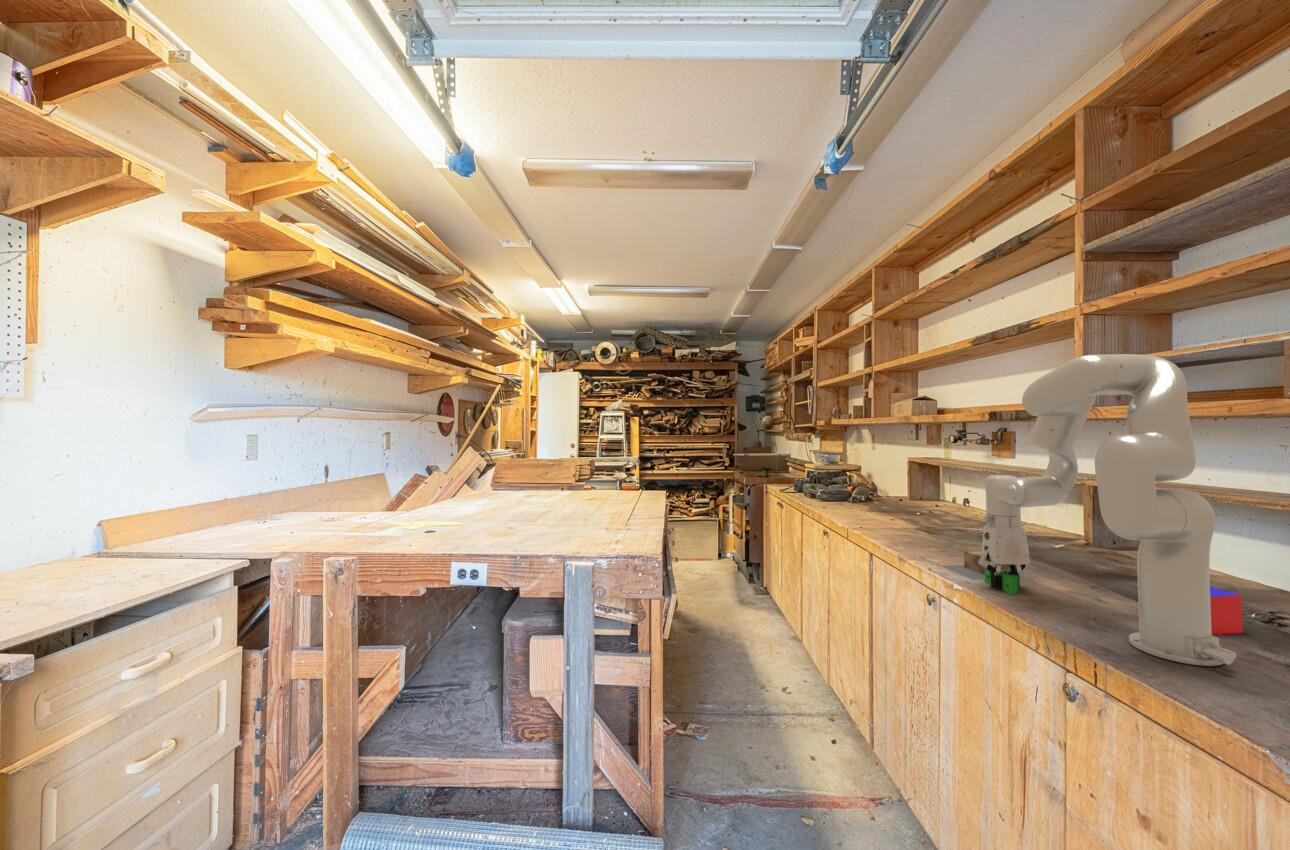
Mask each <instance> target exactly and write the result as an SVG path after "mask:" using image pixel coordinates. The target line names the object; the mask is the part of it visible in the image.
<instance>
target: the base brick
mask: <svg viewBox="0 0 1290 850" xmlns="http://www.w3.org/2000/svg"><path fill="white" fill-rule="evenodd" d="M963 555H964V556H963V557H964V558H963V562H964V564H963V565H964V567H966V568H969V569H971V570H974V571H976V572H979V573H981V574H984V575H985V567H983V566H982V565H980V564H979V563H978V561H979V559H980V558H981V556H982V549H978V550H977V549H976V550H963ZM987 563H988V564H989V561H987ZM1014 566H1015V565H1014ZM994 568H995V565H994ZM1001 570H1006V571H1007V574H1008V572H1010V569H1009V565H1001Z"/></svg>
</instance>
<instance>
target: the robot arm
mask: <svg viewBox="0 0 1290 850" xmlns="http://www.w3.org/2000/svg"><path fill="white" fill-rule="evenodd" d="M1114 395H1129V396H1132V398H1131V400H1130V402H1129V404H1128V406H1127V409H1126V411H1127V412H1126V421H1127V426H1128V433H1124V434H1118V435H1114V436H1112V437H1109V438H1107V439H1106V440H1105V441H1103V442H1102V443H1101V444H1100V445H1099V447H1098V448H1097V450H1096V454H1095V457H1094V473H1095V480H1096V488H1097V496H1098V503H1099V504H1098V505H1099V510H1100V514H1101V518H1102V519H1103V523H1105V525H1106V527H1107V528H1108V529H1109V530H1110V531H1111V532H1112V533H1113V534H1115V536H1118V537H1120V538H1122V539H1125V540H1129V541H1130V540H1131V541H1140V543H1139V546H1138V551H1137V557H1136V558H1137V559H1136V560H1137V562H1136V563H1137V595H1138V597H1137V598H1138V599H1137V600H1138V622H1139V623H1138V624H1139V625H1138V627H1139V629H1138V630H1139V632H1138V631H1137V632H1132V633H1130V634H1128V642H1129V643H1130V645H1131V646H1133V647H1134V648H1136V649H1138V650H1139V651H1142V652H1144V653H1146V654H1149V655H1151V656H1154V657H1157V658H1161V659H1165V660H1168V661H1173V662H1177V663H1180V664H1186V665H1193V666H1203V667H1216V666H1217V667H1218V666H1221V665H1224V664H1225V665H1230V666H1231V665H1232V664H1233V663H1234V661H1235V659H1236V658H1237V653H1236V652H1235V651H1233V650H1230V649H1227V648H1224V647H1221V646H1220V637H1217V636H1215V635H1212V634H1211V605H1210V587H1211V582H1210V581H1211V580H1210V576H1211V575H1210V574H1211V573H1210V572H1211V571H1210V555H1211V553H1210V552H1211V547H1212V539H1213V535H1214V532H1215V528H1216V515H1215V510H1214V509H1213V507H1212V505H1211V504H1210V502H1209V501H1207V499H1206V498H1204V497H1203V496H1202V495H1200V494H1198V493H1196V492H1194V491H1191V490H1188V489H1183V488H1176V487H1175V488H1173V487H1166V488H1165V487H1163V488H1157V487H1156V482H1157V483H1158V482H1160V483H1161V482H1172V481H1178V480H1182V479H1185V478H1187V477H1189V476H1190V475H1192V474H1193V472H1194V471H1195V469H1196V463H1197V462H1196V461H1197V460H1196V451H1195V445H1194V439H1193V438H1194V437H1193V433H1192V432H1193V431H1192V425H1191V419H1190V415H1189V414H1190V413H1189V407H1188V387H1187V380H1186V378H1185V375H1184V373H1183V371H1182V370H1181V368H1179V366H1177V365H1176V363H1174V362H1172V361H1171V360H1168V359H1166V358H1163V357H1159V356H1154V355H1149V354H1147V355H1146V354H1136V353H1135V354H1134V353H1131V354H1130V353H1128V354H1127V353H1122V354H1121V353H1117V354H1116V353H1115V354H1109V353H1108V354H1086V355H1082V356H1079V357H1075V358H1074V359H1072V360H1069V361H1067V362H1066V363H1064V364H1063V365H1060V366H1058V367H1057V368H1054V369H1053V370H1051V371H1050V372H1048V373H1046V374H1044V375H1042V376H1040V377H1039V378H1037V379H1035V380H1034V381H1033V382H1031V383H1030V384H1029V385H1028V386H1027V388H1026V389H1025V391H1023V395H1022V399H1021V404H1022V407H1023V409H1024V410H1025V411H1026V413H1028V414H1029V415H1033V416H1034V417H1035V416H1036V417H1037V419H1036V421H1035V422H1034V426H1033V428H1032V431H1031V433H1030V434H1029V440H1030V442H1031V443H1032V444H1034V445H1035V446H1036V447H1038V448H1040V449H1042V450H1044V451H1046V452H1047V453H1048V457H1049V458H1048V459H1049V460H1048V464H1047V467H1046V469H1045V472H1044V474H1043V475H1041V476H1027V477H1025V476H1024V477H1017V476H1015V475H1008V474H991V475H988V476H987V477H986V478H985V509H986V510H985V511H986V514H985V515H986V516H985V517H983V522H984V523H986V524H985V525H984V527H983V532H982V541H981V542H982V543H981V550H982V556H981V558H980V559H979V561H978V563H979V564H980V565H982V566H983V567H985V568H986V569H987V570H988V572H989V573H990V579H991V584H990V587H991V588H992V589H995V590H998V591H1002V576H1000V570H1001V565H1009V569H1010V572H1008V574H1010V575H1017V576H1018V580H1019V590H1020V589H1021V588H1020V587H1021V583H1020V580H1021V579H1020V577H1019V575H1021V574H1022V571H1024V570H1025V569H1026V567H1027V566H1028V565H1029V564H1031V562H1032V560H1031V559H1030V552H1029V551H1030V550H1029V544H1028V537H1027V533H1026V530H1025V526H1022V516H1021V515H1022V512H1021V510H1022V509H1021V508H1033V507H1049V506H1050V507H1051V506H1056V505H1059V504H1061V503H1063V502H1064V501H1065V500H1066V499H1067V498H1068V496H1069V495H1070V493H1071V491H1072V489H1073V488H1074V485H1075V483H1076V481H1077V479H1078V474H1079V466H1078V465H1079V464H1078V459H1077V456H1076V454H1075V451H1074V446H1075V445H1076V442H1077V440H1078V438H1079V437H1080V436H1079V435H1080V433H1081V432H1082V429H1083V428H1084V425H1085V423H1086V421H1087V419H1088V417H1089V415H1090V413H1091V411H1092V408H1093V406H1094V404H1095V401H1096V397H1097V396H1114ZM987 561H989V564H988V563H987ZM994 565H995V568H994ZM1014 565H1015V566H1014Z"/></svg>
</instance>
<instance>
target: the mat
mask: <svg viewBox="0 0 1290 850" xmlns="http://www.w3.org/2000/svg"><path fill="white" fill-rule="evenodd" d="M940 567H942V568H944V569H946V570H949V571H950V572H954V573H956V574H958V575H961V576H962V577H966V578H968V579H970V580H973V581H976V580H977V581H978V580H980V581H981V580H985V575H984V574H981V573H979V572H976V571H974V570H971V569H969V568H966V567H964V564H957V565H956V564H955V565H940ZM1019 577H1020V578H1021V579H1022V578H1039V576H1038V575H1035V574H1032V573H1030V572H1026V571H1024V570H1022V574H1021V575H1019Z"/></svg>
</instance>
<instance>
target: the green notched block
mask: <svg viewBox="0 0 1290 850" xmlns="http://www.w3.org/2000/svg"><path fill="white" fill-rule="evenodd" d="M1000 576H1002V590H1001V591H1002V592H1004V593H1007V594H1009V595H1010V596H1017V592H1019V591H1020V589H1019V580H1018V576H1017V575H1010V574H1007V571H1006V570H1000ZM984 582H985V583H987V584H989V585H991V579H990V573H989V572H988V570H987V569H986V568H985V579H984Z"/></svg>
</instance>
